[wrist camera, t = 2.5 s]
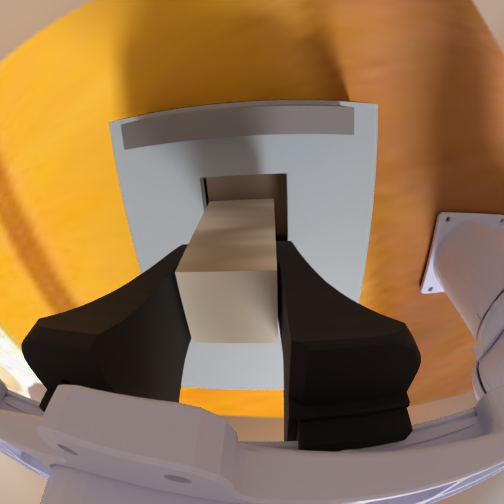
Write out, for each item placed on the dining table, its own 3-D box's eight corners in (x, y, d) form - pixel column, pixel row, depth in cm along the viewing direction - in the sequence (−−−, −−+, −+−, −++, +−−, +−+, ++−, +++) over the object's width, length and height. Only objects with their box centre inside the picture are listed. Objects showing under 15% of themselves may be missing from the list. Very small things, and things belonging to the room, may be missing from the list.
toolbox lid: (372, 103, 13) (397, 106, 10) (337, 379, 24) (343, 409, 21) (115, 120, 14) (84, 129, 11) (183, 379, 25) (176, 408, 22)
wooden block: (273, 198, 14) (277, 270, 8) (275, 254, 15) (277, 342, 10) (209, 201, 14) (174, 272, 9) (216, 256, 15) (192, 342, 10)
